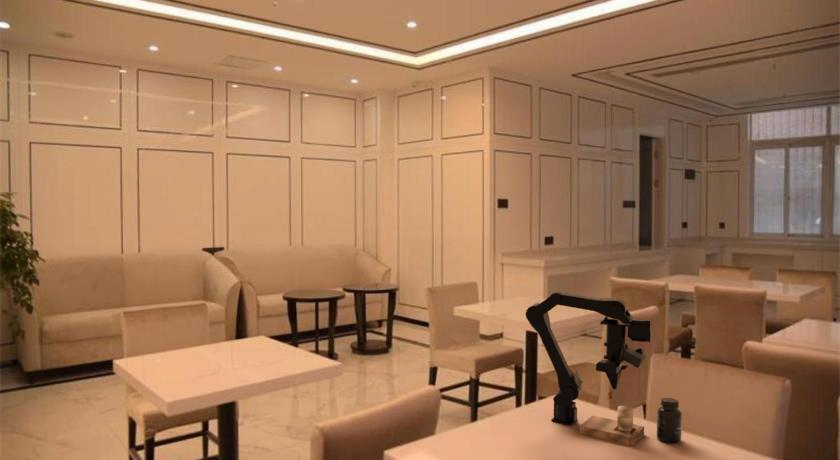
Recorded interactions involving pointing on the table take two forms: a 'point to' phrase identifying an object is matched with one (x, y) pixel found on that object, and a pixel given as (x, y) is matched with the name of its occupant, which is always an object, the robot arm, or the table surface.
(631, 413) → the peg
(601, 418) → the board
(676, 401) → the supplement bottle
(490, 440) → the table surface
